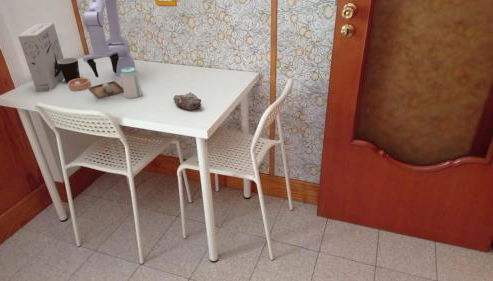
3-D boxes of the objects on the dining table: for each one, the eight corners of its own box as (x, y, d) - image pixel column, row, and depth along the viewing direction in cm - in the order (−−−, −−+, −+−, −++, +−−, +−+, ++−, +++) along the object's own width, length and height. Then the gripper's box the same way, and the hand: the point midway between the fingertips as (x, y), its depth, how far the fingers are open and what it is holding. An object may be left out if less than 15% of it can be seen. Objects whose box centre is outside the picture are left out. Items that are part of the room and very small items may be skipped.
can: (121, 97, 162) (115, 70, 156) (134, 91, 167) (129, 65, 160) (132, 100, 158) (127, 73, 152) (145, 95, 163) (140, 68, 157)
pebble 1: (81, 86, 172) (79, 79, 171) (83, 88, 170) (81, 81, 168) (74, 88, 171) (71, 81, 169) (76, 90, 168) (74, 83, 167)
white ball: (109, 88, 169) (107, 81, 168) (111, 90, 167) (110, 83, 165) (102, 90, 168) (100, 83, 166) (104, 92, 165) (102, 85, 164)
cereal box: (53, 90, 170) (36, 34, 158) (36, 91, 170) (17, 35, 157) (68, 73, 189) (53, 22, 176) (52, 74, 189) (36, 23, 176)
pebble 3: (112, 91, 166) (111, 84, 164) (115, 93, 164) (113, 86, 162) (105, 93, 164) (104, 86, 163) (108, 95, 162) (106, 88, 161)
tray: (114, 83, 175) (114, 80, 175) (126, 92, 166) (125, 89, 165) (88, 90, 169) (87, 87, 169) (98, 100, 160) (98, 97, 159)
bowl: (87, 82, 177) (86, 76, 176) (93, 88, 171) (92, 81, 169) (67, 87, 173) (65, 81, 171) (73, 93, 167) (71, 87, 165)
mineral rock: (170, 102, 156) (169, 92, 154) (188, 97, 160) (187, 87, 158) (185, 115, 145) (184, 105, 143) (204, 110, 149) (203, 99, 147)
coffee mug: (76, 85, 176) (70, 64, 170) (59, 84, 177) (53, 63, 172) (90, 75, 185) (84, 55, 180) (74, 75, 187) (68, 55, 182)
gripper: (83, 48, 146) (91, 81, 153) (119, 40, 154) (126, 72, 161) (78, 44, 151) (86, 76, 158) (113, 37, 159) (120, 68, 165)
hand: (106, 74), depth 160 cm, fingers open, 7 cm apart
